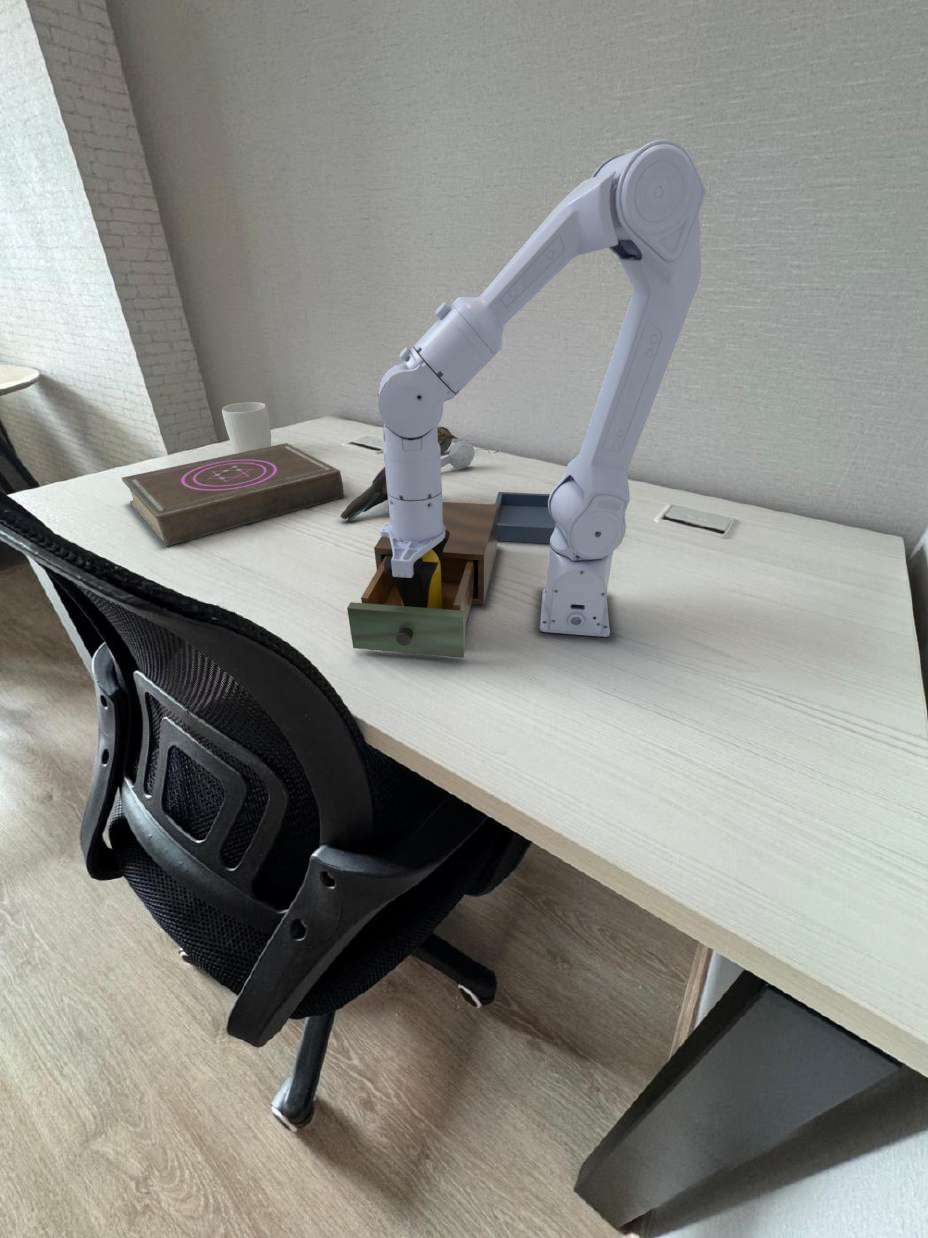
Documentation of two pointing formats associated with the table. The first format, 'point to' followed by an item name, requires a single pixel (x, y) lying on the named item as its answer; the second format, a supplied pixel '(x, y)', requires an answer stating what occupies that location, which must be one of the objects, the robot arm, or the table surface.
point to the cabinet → (464, 540)
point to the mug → (247, 426)
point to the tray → (524, 517)
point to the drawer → (415, 614)
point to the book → (231, 491)
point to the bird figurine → (378, 489)
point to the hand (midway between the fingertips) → (421, 601)
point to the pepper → (433, 582)
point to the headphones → (457, 452)
